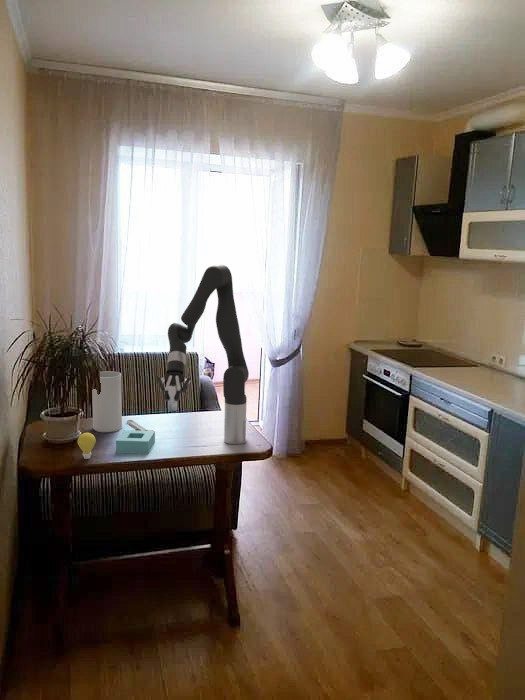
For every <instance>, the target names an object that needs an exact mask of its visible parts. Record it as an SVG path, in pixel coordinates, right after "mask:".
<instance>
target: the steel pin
mask: <svg viewBox="0 0 525 700" xmlns="http://www.w3.org/2000/svg"><path fill="white" fill-rule="evenodd" d="M176 392H177V385H168V401H167V409H168V410H167V411H169V412H175V411H177V410H178V401H176Z"/></svg>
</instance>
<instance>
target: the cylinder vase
mask: <svg viewBox="0 0 525 700" xmlns="http://www.w3.org/2000/svg"><path fill="white" fill-rule="evenodd" d="M99 372H100V383H101V392H100V394H99V395H98V394H97V390H96V389H93V390H91V391H92V392H91V393H92V394H91V395H92V397H91V398H92V428H93V430H94V431H95V432H98V433H113V432H117V431H120V430H121V429H122V426H123V413H122V411H123V409H122V407H123V405H122V404H123V403H122V373H121V372H119V371H113V370H112V371H99Z"/></svg>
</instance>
